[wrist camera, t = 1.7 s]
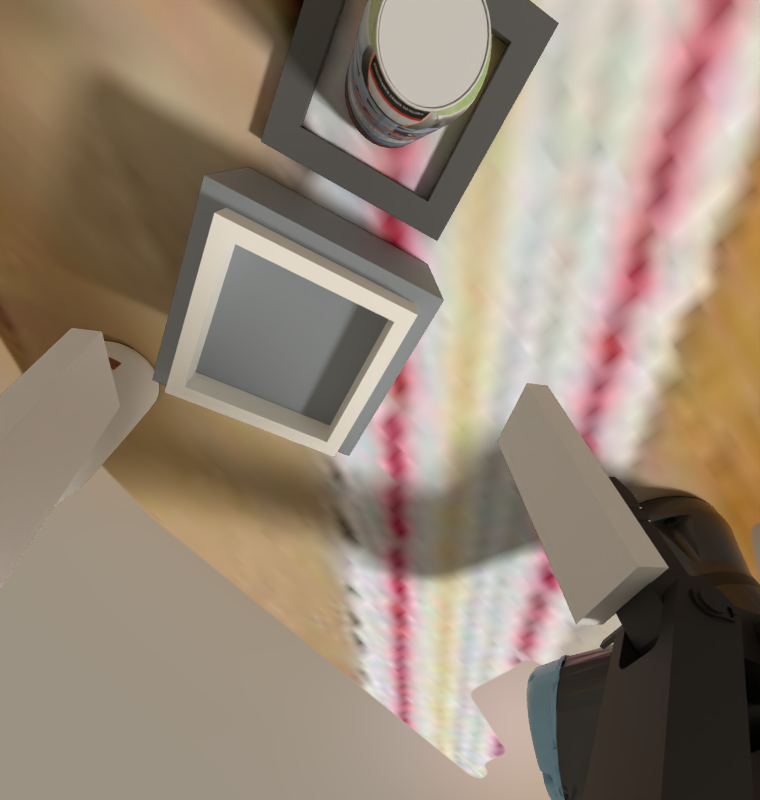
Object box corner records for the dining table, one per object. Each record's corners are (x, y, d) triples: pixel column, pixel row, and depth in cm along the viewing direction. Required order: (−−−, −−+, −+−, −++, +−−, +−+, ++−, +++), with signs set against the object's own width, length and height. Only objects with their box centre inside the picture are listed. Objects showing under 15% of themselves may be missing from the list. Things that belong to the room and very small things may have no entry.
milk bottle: (171, 362, 38) (4, 541, 21) (151, 422, 41) (-7, 617, 24) (82, 323, 35) (-186, 486, 19) (68, 389, 39) (-168, 578, 22)
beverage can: (327, 92, 27) (299, 61, 17) (410, -13, 24) (435, -125, 14) (391, 170, 30) (400, 184, 19) (473, 82, 27) (533, 45, 17)
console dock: (428, 264, 33) (448, 311, 24) (353, 395, 40) (347, 473, 30) (248, 167, 29) (189, 177, 20) (199, 329, 36) (137, 395, 27)
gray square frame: (552, 27, 26) (558, 23, 25) (435, 238, 32) (437, 240, 31) (349, -132, 22) (347, -143, 21) (264, 141, 29) (260, 141, 28)
